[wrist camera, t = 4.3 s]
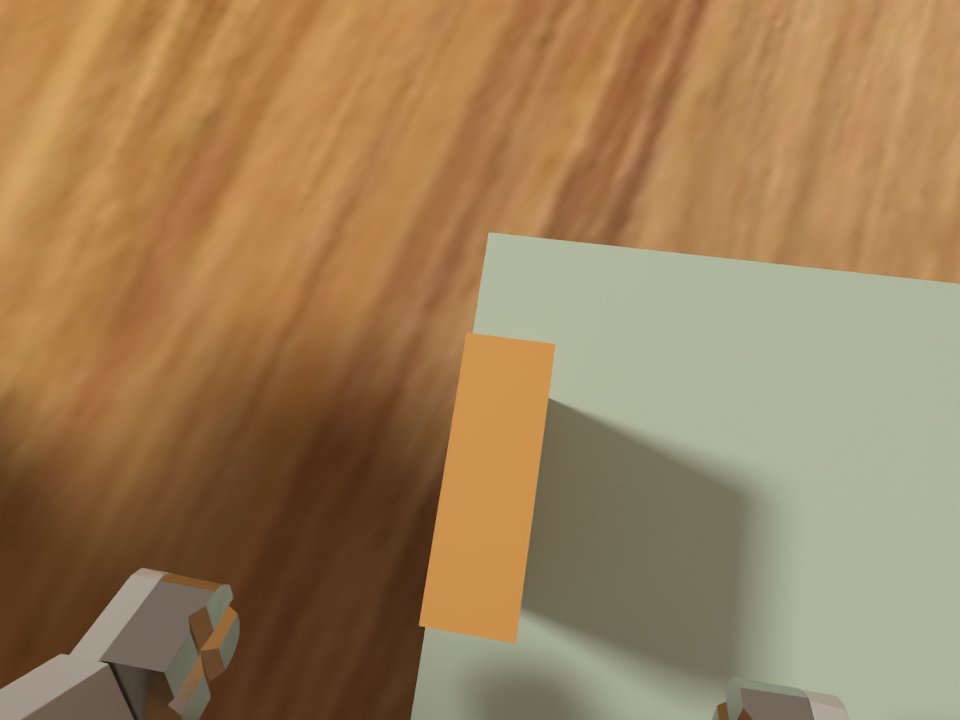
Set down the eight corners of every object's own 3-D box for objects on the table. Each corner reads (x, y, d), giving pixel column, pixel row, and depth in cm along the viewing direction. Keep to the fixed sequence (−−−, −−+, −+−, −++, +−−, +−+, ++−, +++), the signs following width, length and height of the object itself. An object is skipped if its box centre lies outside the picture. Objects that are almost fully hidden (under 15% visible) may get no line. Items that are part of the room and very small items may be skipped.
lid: (420, 734, 18) (322, 932, 10) (494, 264, 21) (467, 106, 12) (1174, 886, 16) (1878, 1309, 8) (1142, 338, 19) (1627, 207, 10)
